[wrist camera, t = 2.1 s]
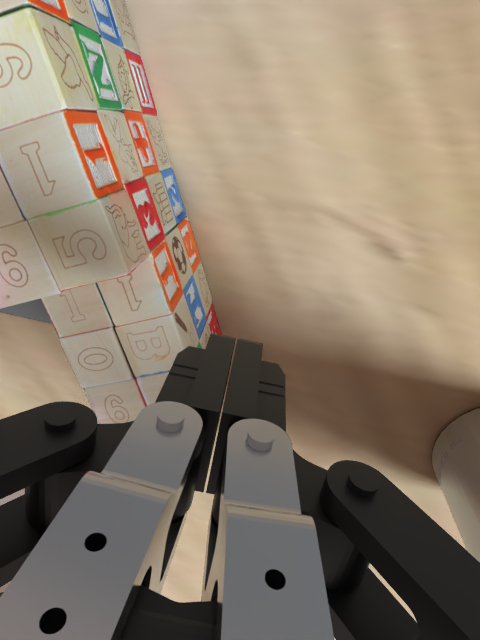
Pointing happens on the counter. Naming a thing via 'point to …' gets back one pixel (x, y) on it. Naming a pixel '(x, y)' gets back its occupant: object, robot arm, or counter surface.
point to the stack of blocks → (94, 202)
